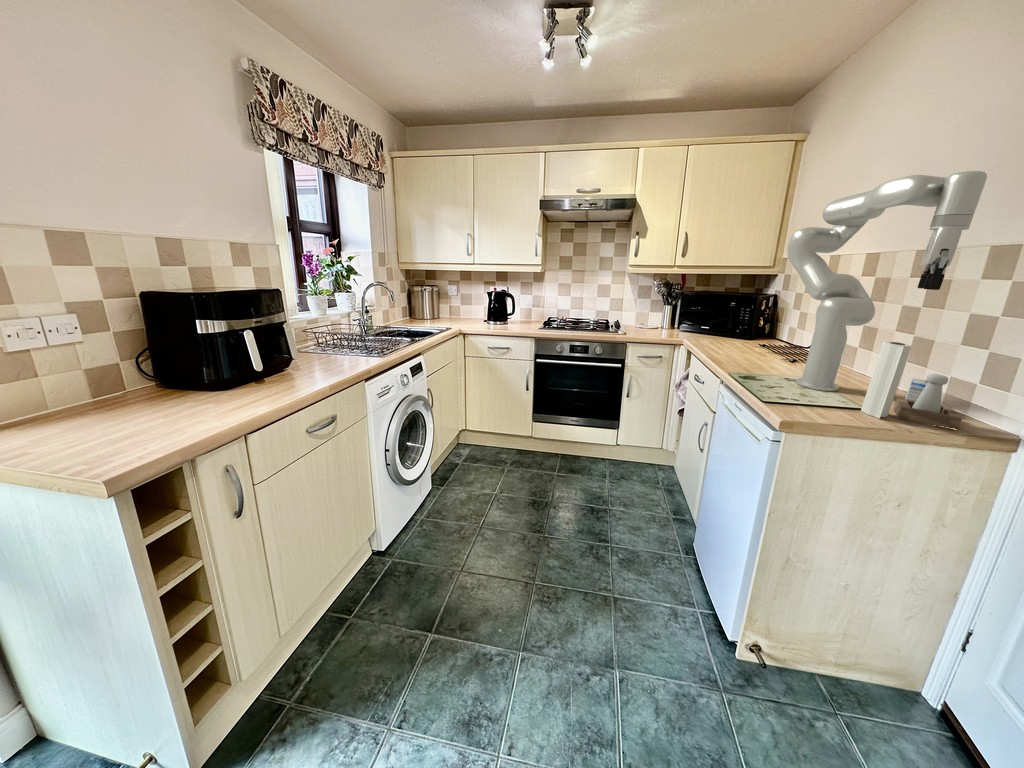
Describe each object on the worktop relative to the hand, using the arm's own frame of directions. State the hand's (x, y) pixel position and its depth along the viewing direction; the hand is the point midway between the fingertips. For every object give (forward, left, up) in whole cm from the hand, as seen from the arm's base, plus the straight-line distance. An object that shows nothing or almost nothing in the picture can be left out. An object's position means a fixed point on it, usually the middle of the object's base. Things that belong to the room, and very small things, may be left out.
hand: (927, 289), depth 114 cm
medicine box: (-10, +7, -37) cm, 39 cm away
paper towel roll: (+8, -4, -36) cm, 38 cm away
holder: (+2, +8, -36) cm, 37 cm away
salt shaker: (+2, +8, -36) cm, 37 cm away
